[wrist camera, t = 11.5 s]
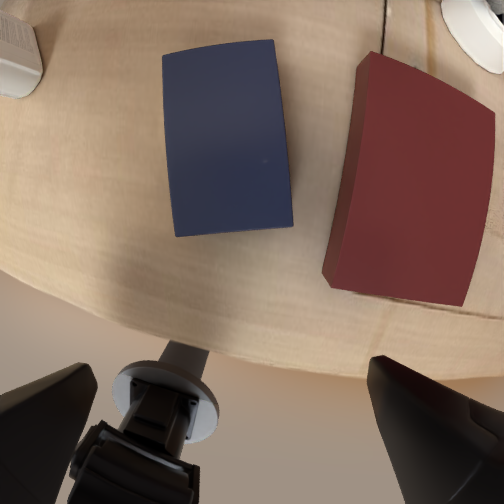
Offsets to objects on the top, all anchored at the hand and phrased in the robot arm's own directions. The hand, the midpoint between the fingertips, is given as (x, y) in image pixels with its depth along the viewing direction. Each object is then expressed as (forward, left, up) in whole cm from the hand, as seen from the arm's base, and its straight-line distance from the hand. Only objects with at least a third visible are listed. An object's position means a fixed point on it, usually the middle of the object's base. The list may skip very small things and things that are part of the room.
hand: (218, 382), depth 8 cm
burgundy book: (+9, -10, -12) cm, 18 cm away
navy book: (+8, +3, -12) cm, 15 cm away
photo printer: (+14, +26, -12) cm, 32 cm away
